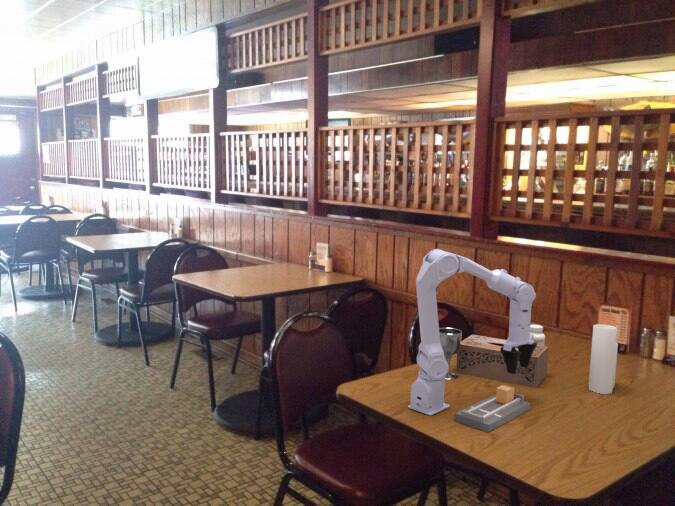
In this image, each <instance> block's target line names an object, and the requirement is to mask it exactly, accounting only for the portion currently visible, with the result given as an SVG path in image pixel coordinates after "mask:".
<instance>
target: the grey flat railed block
mask: <svg viewBox="0 0 675 506" xmlns="http://www.w3.org/2000/svg"><path fill="white" fill-rule="evenodd" d="M530 407H531V402H528V401H525V395H523V394H519V393H516V392H514V400H513V401H511V402H509V403H507V404H502V403H499V402H496V393H495V394H493V395H490V396H489V397H487V398H484V399H482V400H480V401H478V402H476V403H473V404H471V405H470V406H468V407H466V408H463V409H462V410H459V411H457V412H455V414H454V421H455V422H457V423H460V424H463V425H465V426H469V427H472V428H475V429H477V430H480V431H483V432H485V433H490V432H492V431H494V430H496V429H498V428H499V427H501V426H503V425H504V424H506V423H508V422H510V421H512V420H513V419H515V418H518V416H520V415H522V414H525V413H526V412H527V411H529V410H530Z"/></svg>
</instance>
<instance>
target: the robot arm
mask: <svg viewBox="0 0 675 506" xmlns="http://www.w3.org/2000/svg"><path fill="white" fill-rule="evenodd" d="M464 272H466V273H467V274H470V275H472V276H475V277H477V278H479V279H481V280H483V281H485V282H486V285H487V287H488V288H489V289H491V290H493V291H495V292H497V293H499V294H501V295H503V296H506V297H508V299H509V301H510V302H509V321H508V322H509V324H508V337H507V339H506V340H507V341H506V342H505V343H504V346H503V347H502V348H501V349H500V351H501V353H502V355H503V357H504V359H505V363H506V367H507V372H508V373H511V374H515V373H516V370H517V363H518V359H519V361H520V366H521V367H525V368H528V366H529V362H530V359H531V356H532V353H533V351H534V349H535V348H536V346H537V343H534V334H530V325H531V319H532V316H531V315H532V305H533V302H534V300H535V299H536V297H537V293H536V292H535V289H534V287H533V285H531V284H530V283H527V282H525V281H522V279H521V278H520V277H518V276H516V277H515V276H512V275H511V274H509V273H508V271H507V270H505V269H503V268H501V269H493V270H490V269H489V268H487V267H484V266H483V265H481V264H478V263H477V262H475V261H474V260H471V259H469V258H468V257H465V256H461V255H460V254H455V253H452V252H450V251H449V252H448V251H445V250H443V249H440V248H435V249H432V250H430V251H429V252H428V253H427V254H426V255H425V256H424V257H423V259H422V265H421V267H420V269H419V272H418V274H417V277H416V278H415V288H416V289H415V290H416V299H417V300H416V301H417V311H418V319H419V320H418V322H419V333H420V344H419V345H418V353H417V355H416V363H417V366H418V367H419V371H418V376H417V379H416V380H415V381H414V382H412V384H411V386H410V400H409V401H410V404H409V405H407V408H408V409H411V410H413V411H416V412H419V413H422V414H425V415H428V416H433V415H435V414H437V413H439V412H443V411H444V410H446V409H448V408H450V406H451V405H450V404H449V403H448V404H447V403H445V385H446V383H445V380H446V379H445V376H446V375H447V373H448V369H449V370H450V365H449V366H448V363H447V361H446V357H445V355H444V352H443V349H442V347H441V344H440V334H439V328H440V324H439V314H438V312H439V311H438V302H437V300H438V299H437V291H436V289H437V287H438V285H440V284H441V283H442V282H443V281H444V280H446V279H448V278H449V277H452V276H453V275H454V274H456V273H458V274H461V273H464ZM515 347H518V351H516V349H515Z"/></svg>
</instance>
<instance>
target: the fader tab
mask: <svg viewBox="0 0 675 506" xmlns="http://www.w3.org/2000/svg"><path fill="white" fill-rule="evenodd" d="M514 393H515V387H514V386H510V385H507V384H502V385H500V386H497V387H496V393H495V394H496V402H499V403H502V404H507V403H509V402H511V401H513V400H514Z"/></svg>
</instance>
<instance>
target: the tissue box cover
mask: <svg viewBox="0 0 675 506" xmlns="http://www.w3.org/2000/svg"><path fill="white" fill-rule="evenodd" d="M506 341H507V339H503V338H495V337H491V336H485V335H480V334H479V335H477V334H471V335H469V336H467V337H466V338H464V339H463V340H461V344H460V347H459V349H458V350H457V351H456V367H455V368H456V369H455V372H456V374H457V373H459V374H463V375H468V376H473V377H478V378H482V379H483V378H484V379H488V380H493V381H498V382H503V383H507V384H513V385H519V386H522V387H523V386H524V387H528V388H529V387H530V388H534V389H536V388H537V387H538V386H539V385H540V384H541V383H542V381H543V380H545V378H546V377H547V375H548V373H547V372H548V359H549V358H548V356H549V346H547V345H545V346H541V345H537V346H536V348H535V349H534V351H533V353H532V356H531V359H530V362H529V366H528V368H525V367H521V366H520V361H519V359H518V363H517V370H516V373H515V374H511V373H508V372H507V367H506V363H505V359H504V357H503V355H502V353H501V351H500V349H501V348H502V347H503V346H504V343H505V342H506ZM515 349H516V351H518V347H515Z"/></svg>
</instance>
